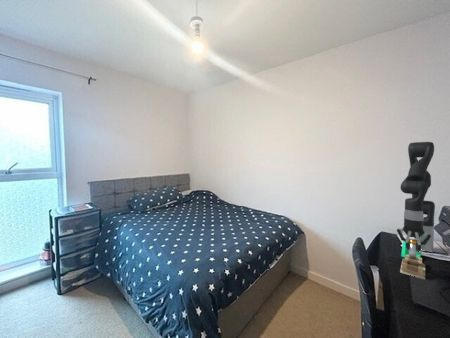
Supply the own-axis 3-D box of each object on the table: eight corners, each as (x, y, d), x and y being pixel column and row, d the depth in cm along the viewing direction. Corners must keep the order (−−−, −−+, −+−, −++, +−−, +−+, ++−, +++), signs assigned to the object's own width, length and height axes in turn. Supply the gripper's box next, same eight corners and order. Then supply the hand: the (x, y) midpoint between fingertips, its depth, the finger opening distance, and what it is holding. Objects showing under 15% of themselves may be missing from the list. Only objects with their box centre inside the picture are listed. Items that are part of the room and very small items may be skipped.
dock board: (402, 260, 121) (402, 252, 121) (425, 265, 115) (425, 257, 114) (400, 272, 108) (400, 263, 108) (425, 279, 102) (425, 270, 101)
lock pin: (408, 256, 110) (409, 238, 109) (417, 258, 107) (417, 240, 107) (408, 258, 107) (408, 240, 107) (417, 260, 105) (417, 242, 105)
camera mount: (418, 263, 118) (418, 245, 118) (401, 258, 124) (401, 241, 124) (421, 256, 126) (421, 240, 125) (405, 252, 132) (405, 237, 131)
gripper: (432, 219, 104) (431, 251, 105) (396, 214, 114) (396, 244, 115) (432, 222, 99) (432, 256, 100) (395, 217, 109) (395, 248, 110)
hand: (412, 250), depth 107 cm, fingers closed on lock pin, 3 cm apart
